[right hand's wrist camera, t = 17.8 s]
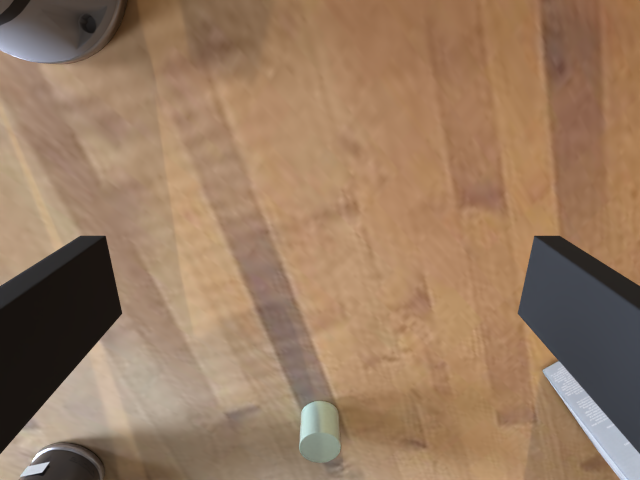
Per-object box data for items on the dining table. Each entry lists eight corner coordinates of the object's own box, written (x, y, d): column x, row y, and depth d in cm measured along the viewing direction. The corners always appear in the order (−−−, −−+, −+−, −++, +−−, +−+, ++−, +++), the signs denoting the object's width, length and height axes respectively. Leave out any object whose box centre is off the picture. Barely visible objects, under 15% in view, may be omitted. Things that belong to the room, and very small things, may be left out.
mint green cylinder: (301, 429, 53) (299, 463, 48) (300, 400, 51) (298, 432, 46) (338, 429, 53) (340, 462, 48) (339, 400, 51) (341, 432, 46)
